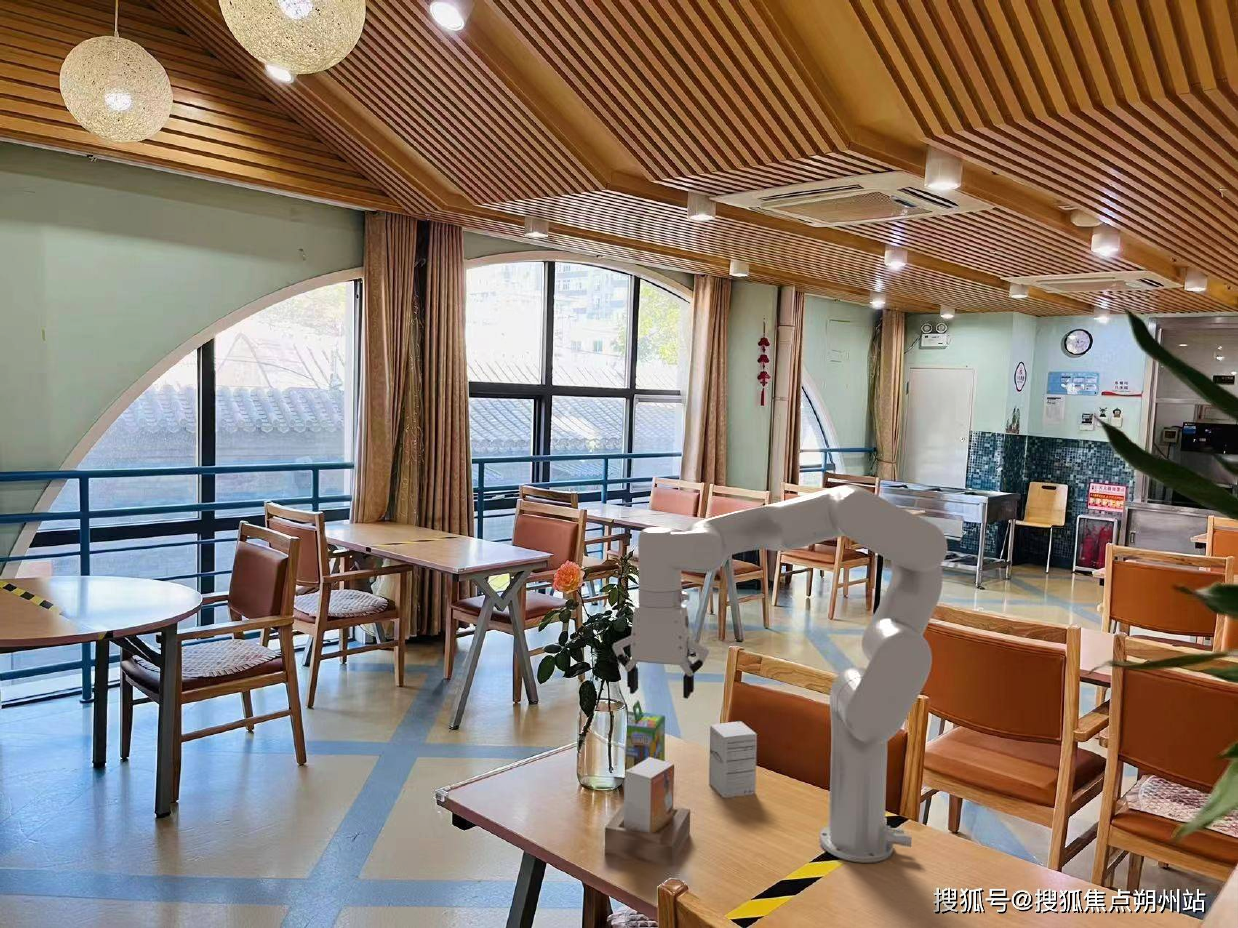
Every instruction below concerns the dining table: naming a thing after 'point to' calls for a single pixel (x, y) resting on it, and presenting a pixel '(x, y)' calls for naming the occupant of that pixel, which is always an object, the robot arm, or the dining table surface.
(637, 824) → the small box
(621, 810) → the walnut base brick
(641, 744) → the chalk box
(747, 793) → the supplement box
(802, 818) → the dining table surface
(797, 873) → the dining table surface
